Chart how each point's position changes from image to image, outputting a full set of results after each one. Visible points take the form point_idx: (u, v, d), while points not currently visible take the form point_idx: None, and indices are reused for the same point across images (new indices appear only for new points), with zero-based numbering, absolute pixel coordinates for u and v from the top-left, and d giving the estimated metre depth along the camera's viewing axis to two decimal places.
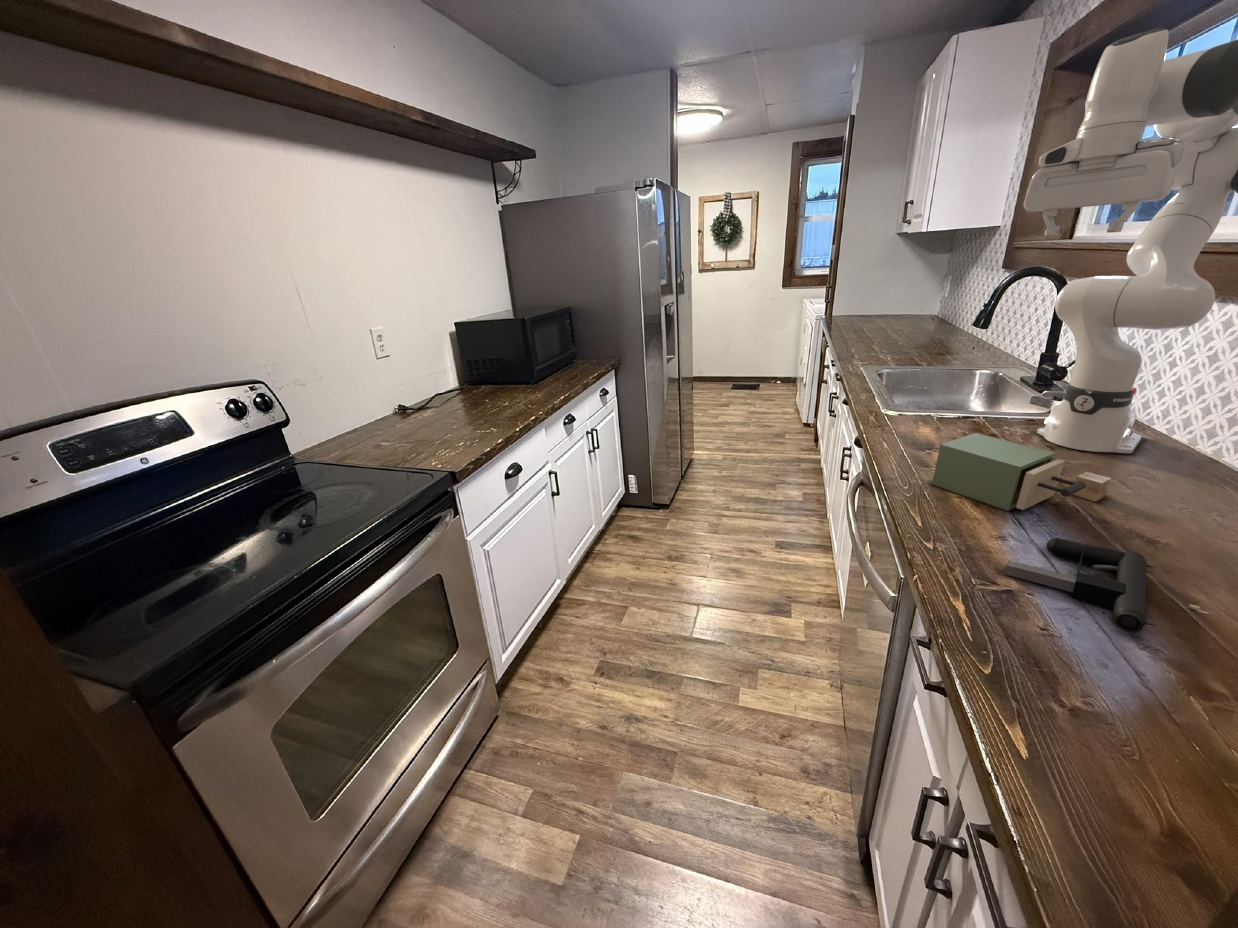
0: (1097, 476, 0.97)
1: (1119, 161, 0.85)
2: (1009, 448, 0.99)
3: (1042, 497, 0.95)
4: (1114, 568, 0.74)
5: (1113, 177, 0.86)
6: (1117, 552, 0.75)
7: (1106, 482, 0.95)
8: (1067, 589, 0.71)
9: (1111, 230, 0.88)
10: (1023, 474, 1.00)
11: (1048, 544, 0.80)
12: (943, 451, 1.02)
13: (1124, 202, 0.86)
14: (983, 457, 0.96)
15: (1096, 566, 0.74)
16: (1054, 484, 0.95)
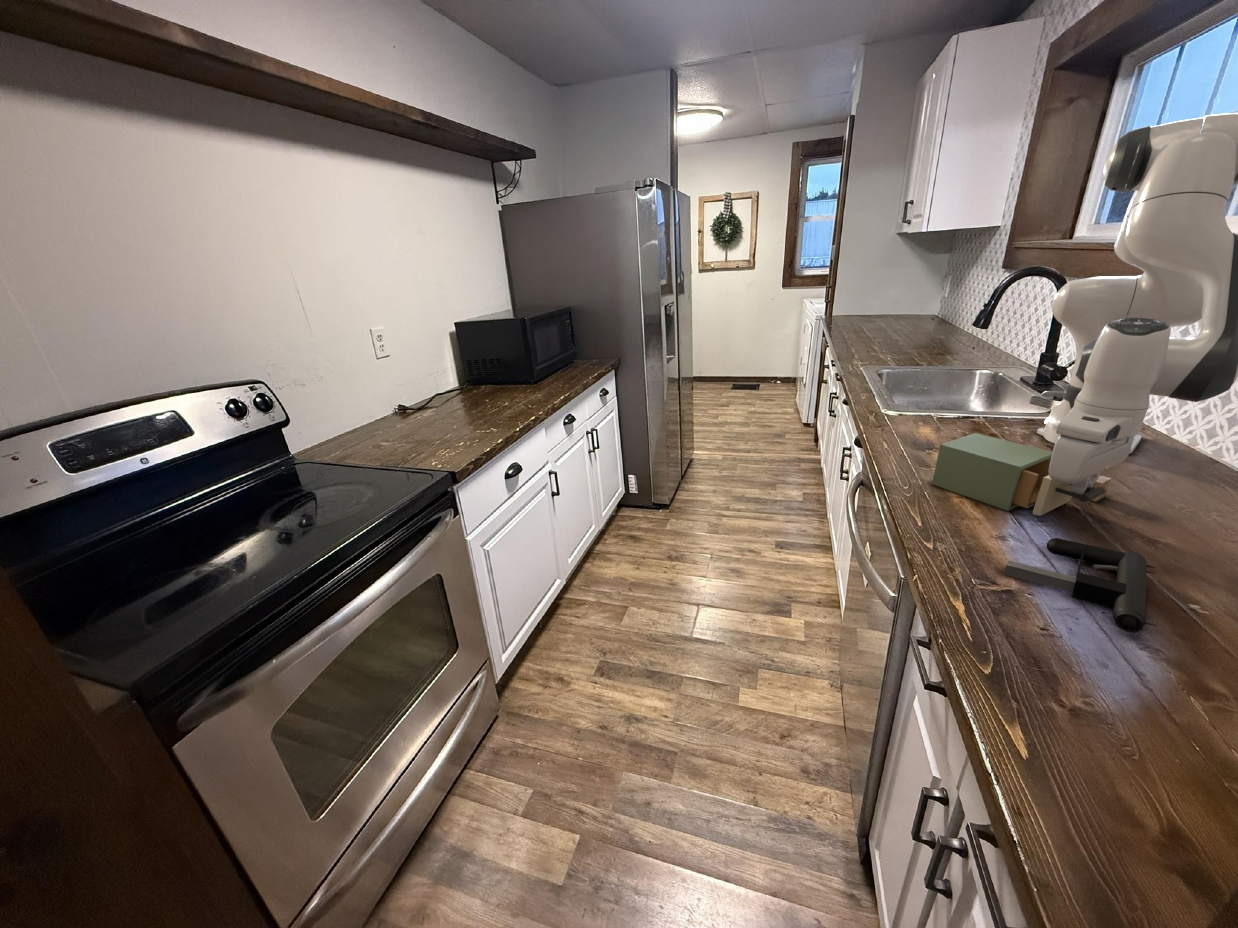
0: None
1: None
2: (1009, 448, 0.99)
3: (1060, 502, 0.93)
4: (1114, 568, 0.74)
5: (1114, 446, 0.85)
6: (1117, 552, 0.75)
7: (1106, 482, 0.95)
8: (1067, 589, 0.71)
9: None
10: (1039, 479, 0.97)
11: (1048, 544, 0.80)
12: (943, 451, 1.02)
13: None
14: (983, 457, 0.96)
15: (1096, 566, 0.74)
16: None
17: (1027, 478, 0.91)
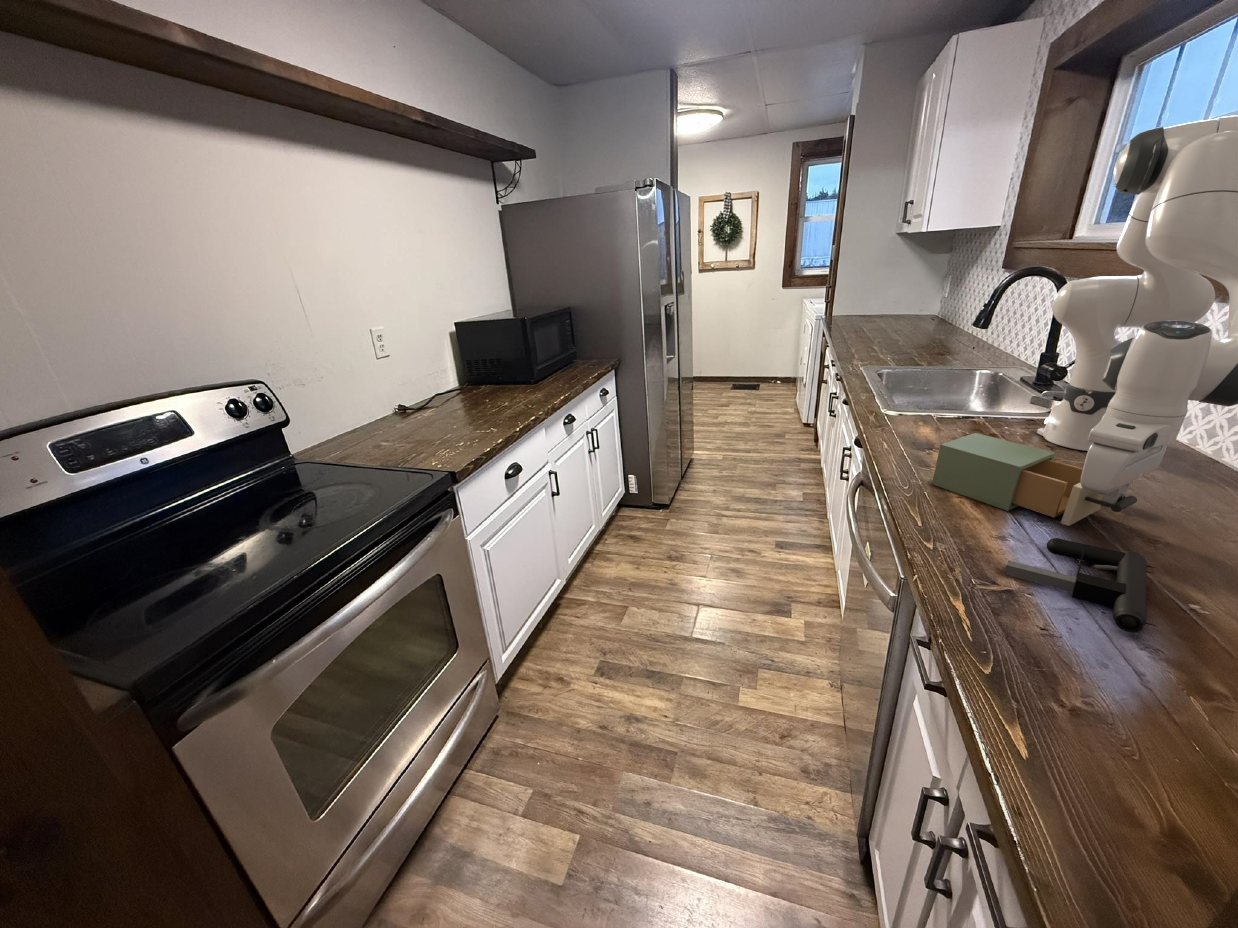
0: None
1: None
2: (1009, 448, 0.99)
3: (1088, 511, 0.89)
4: (1114, 568, 0.74)
5: (1148, 454, 0.82)
6: (1117, 552, 0.75)
7: None
8: (1067, 589, 0.71)
9: None
10: (1065, 486, 0.94)
11: (1048, 544, 0.80)
12: (943, 451, 1.02)
13: None
14: (983, 457, 0.96)
15: (1096, 566, 0.74)
16: (1100, 498, 0.90)
17: (1055, 486, 0.88)
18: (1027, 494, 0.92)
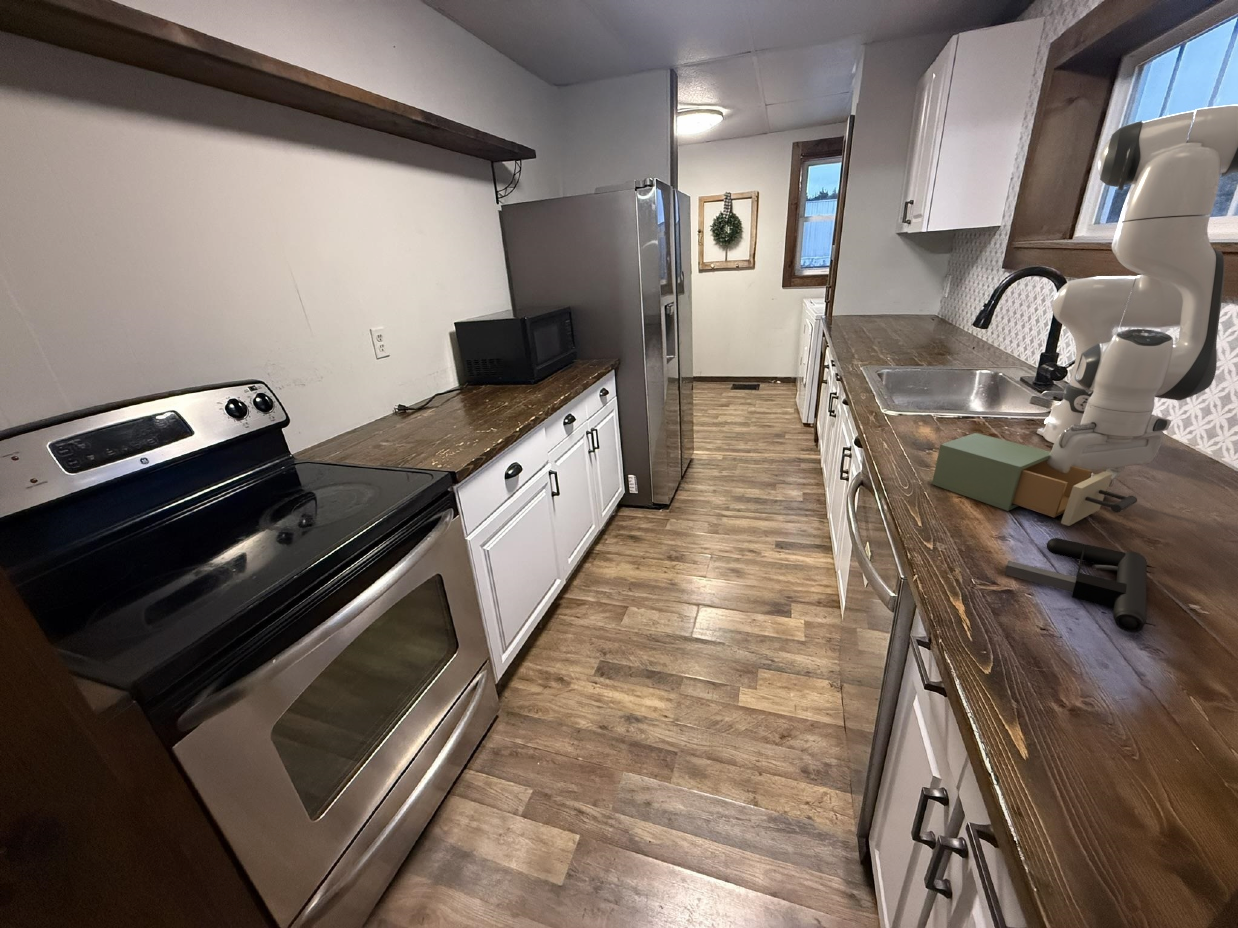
0: None
1: None
2: (1009, 448, 0.99)
3: (1088, 511, 0.89)
4: (1114, 568, 0.74)
5: None
6: (1117, 552, 0.75)
7: None
8: (1067, 589, 0.71)
9: None
10: (1065, 486, 0.94)
11: (1048, 544, 0.80)
12: (943, 451, 1.02)
13: None
14: (983, 457, 0.96)
15: (1096, 566, 0.74)
16: (1100, 498, 0.90)
17: (1055, 486, 0.88)
18: (1027, 494, 0.92)
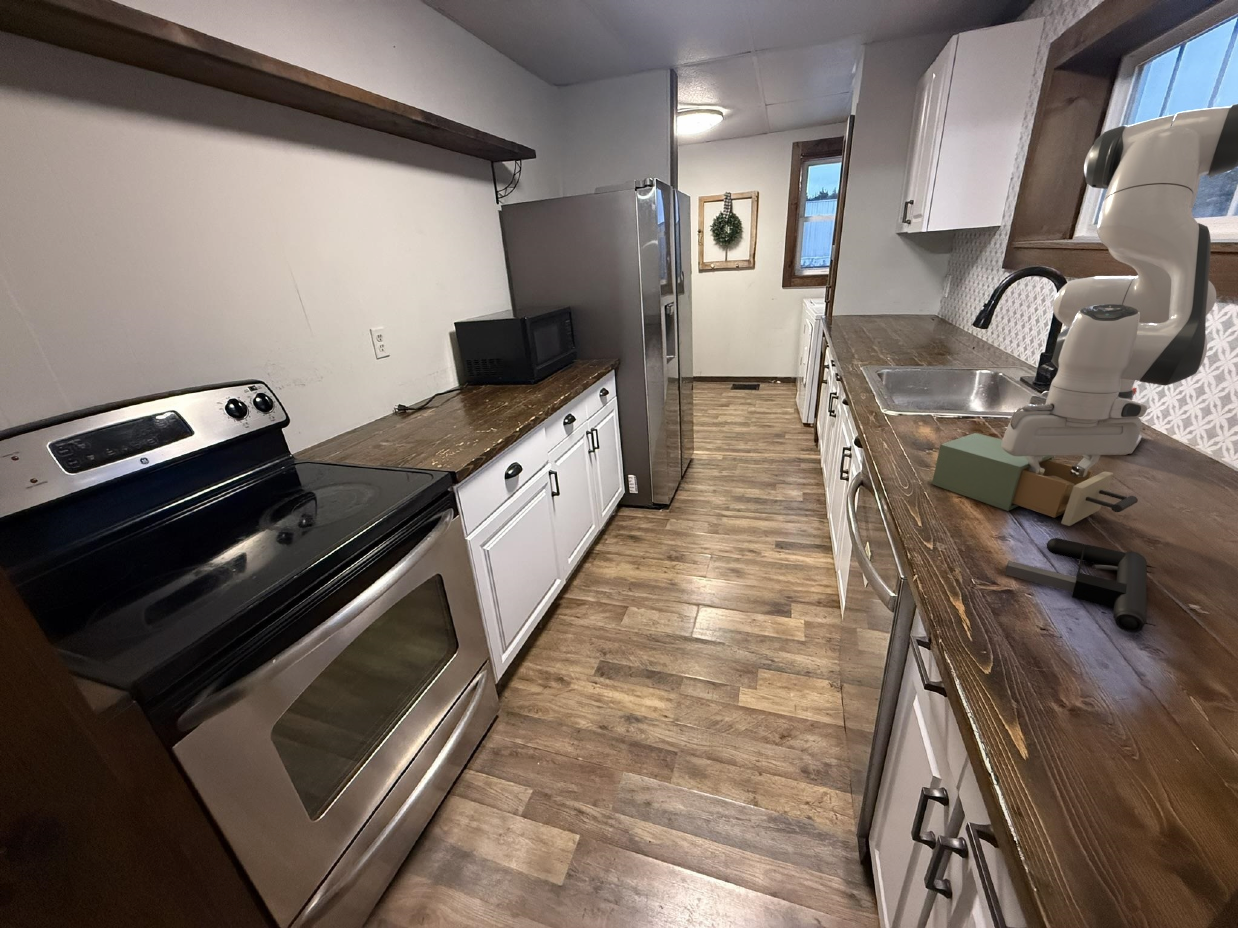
0: None
1: None
2: None
3: (1089, 512, 0.89)
4: (1114, 568, 0.74)
5: None
6: (1117, 552, 0.75)
7: None
8: (1067, 589, 0.71)
9: None
10: None
11: (1048, 544, 0.80)
12: (943, 451, 1.02)
13: None
14: (983, 457, 0.96)
15: (1096, 566, 0.74)
16: (1101, 498, 0.90)
17: (1056, 486, 0.87)
18: (1027, 494, 0.92)
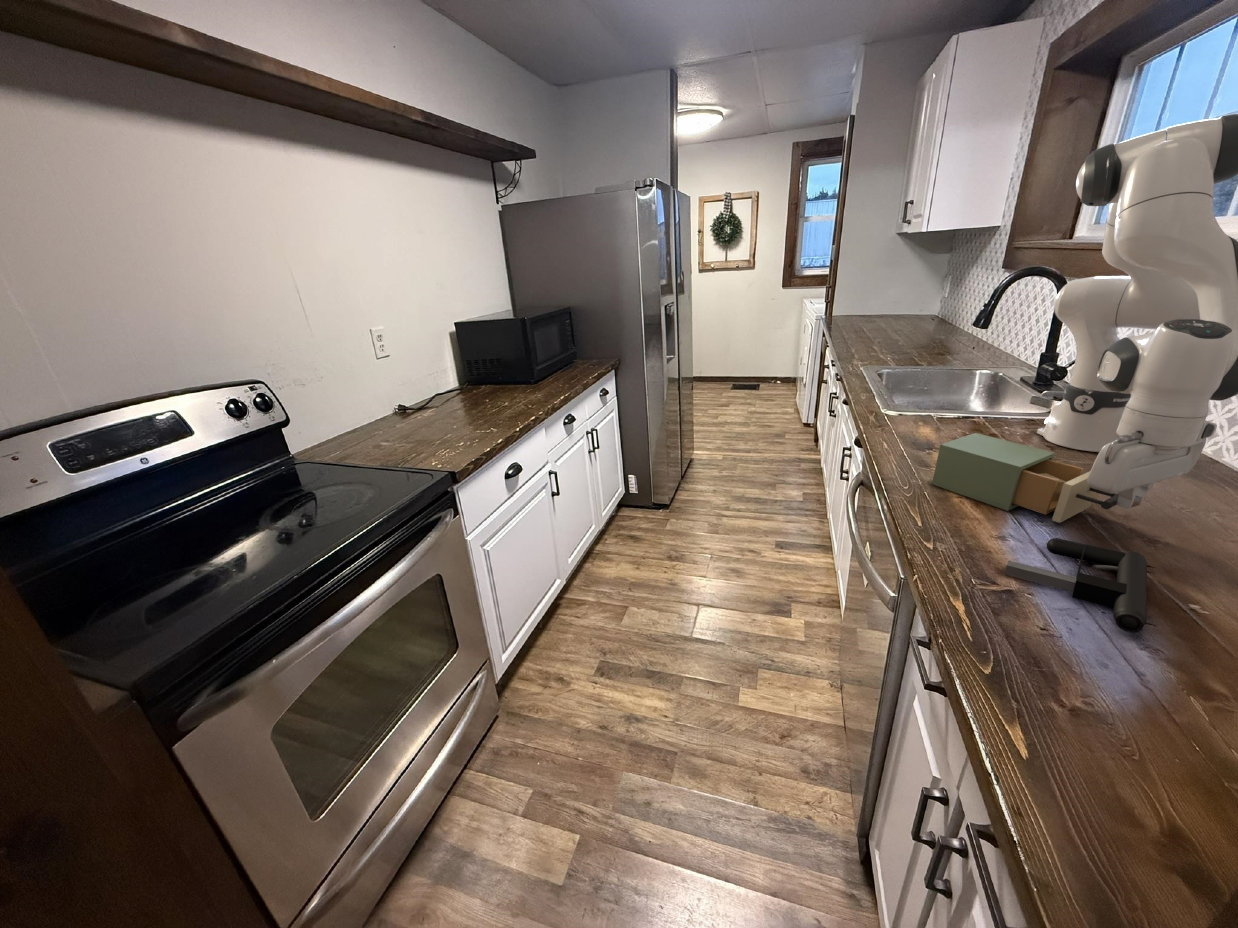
0: None
1: None
2: (1009, 448, 0.99)
3: (1079, 509, 0.90)
4: (1114, 568, 0.74)
5: None
6: (1117, 552, 0.75)
7: None
8: (1067, 589, 0.71)
9: None
10: None
11: (1048, 544, 0.80)
12: (943, 451, 1.02)
13: None
14: (983, 457, 0.96)
15: (1096, 566, 0.74)
16: (1091, 495, 0.91)
17: (1046, 484, 0.89)
18: (1019, 491, 0.93)
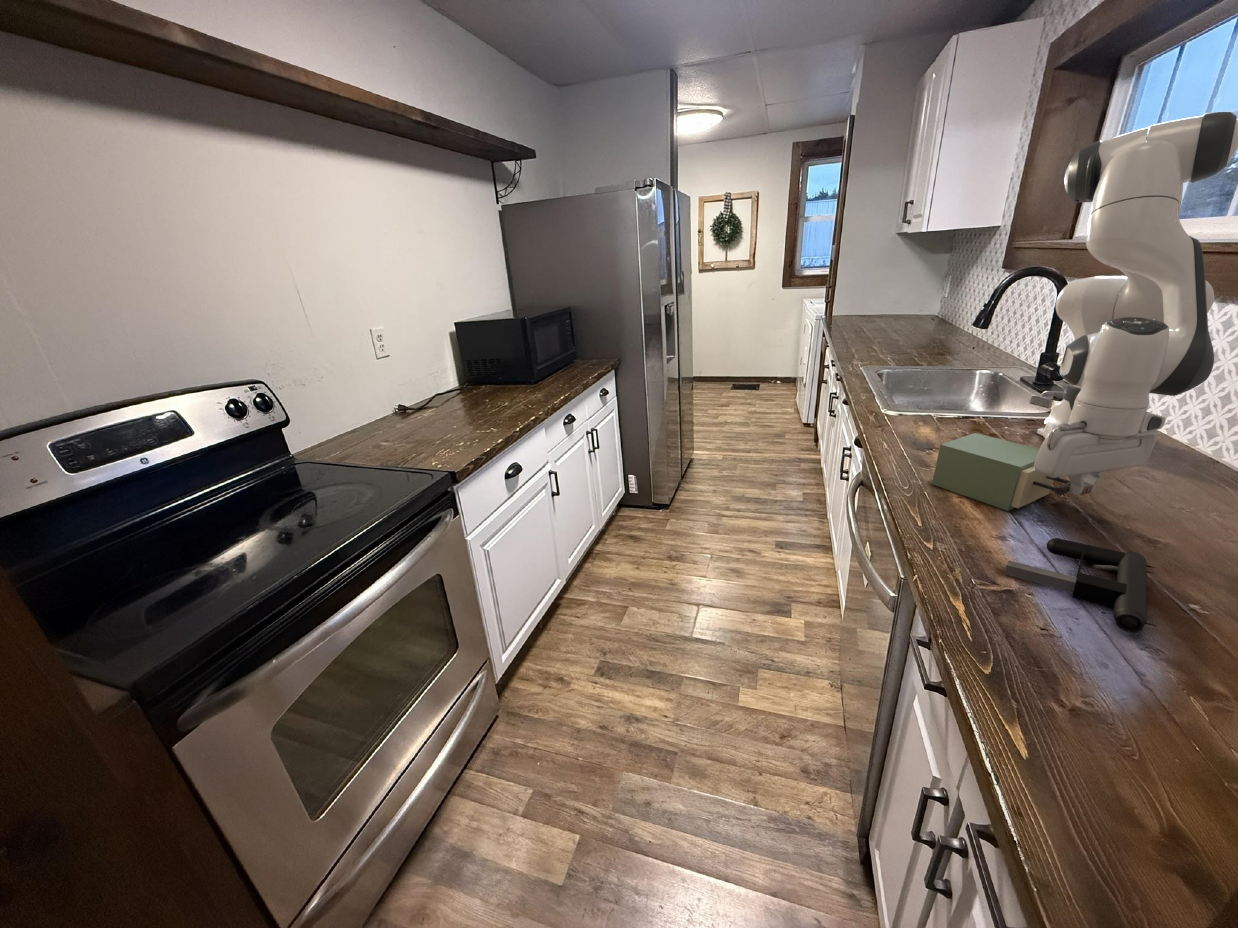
0: None
1: None
2: (1009, 448, 0.99)
3: (1038, 495, 0.95)
4: (1114, 568, 0.74)
5: None
6: (1117, 552, 0.75)
7: None
8: (1067, 589, 0.71)
9: None
10: None
11: (1048, 544, 0.80)
12: (943, 451, 1.02)
13: None
14: (983, 457, 0.96)
15: (1096, 566, 0.74)
16: (1049, 483, 0.96)
17: None
18: None
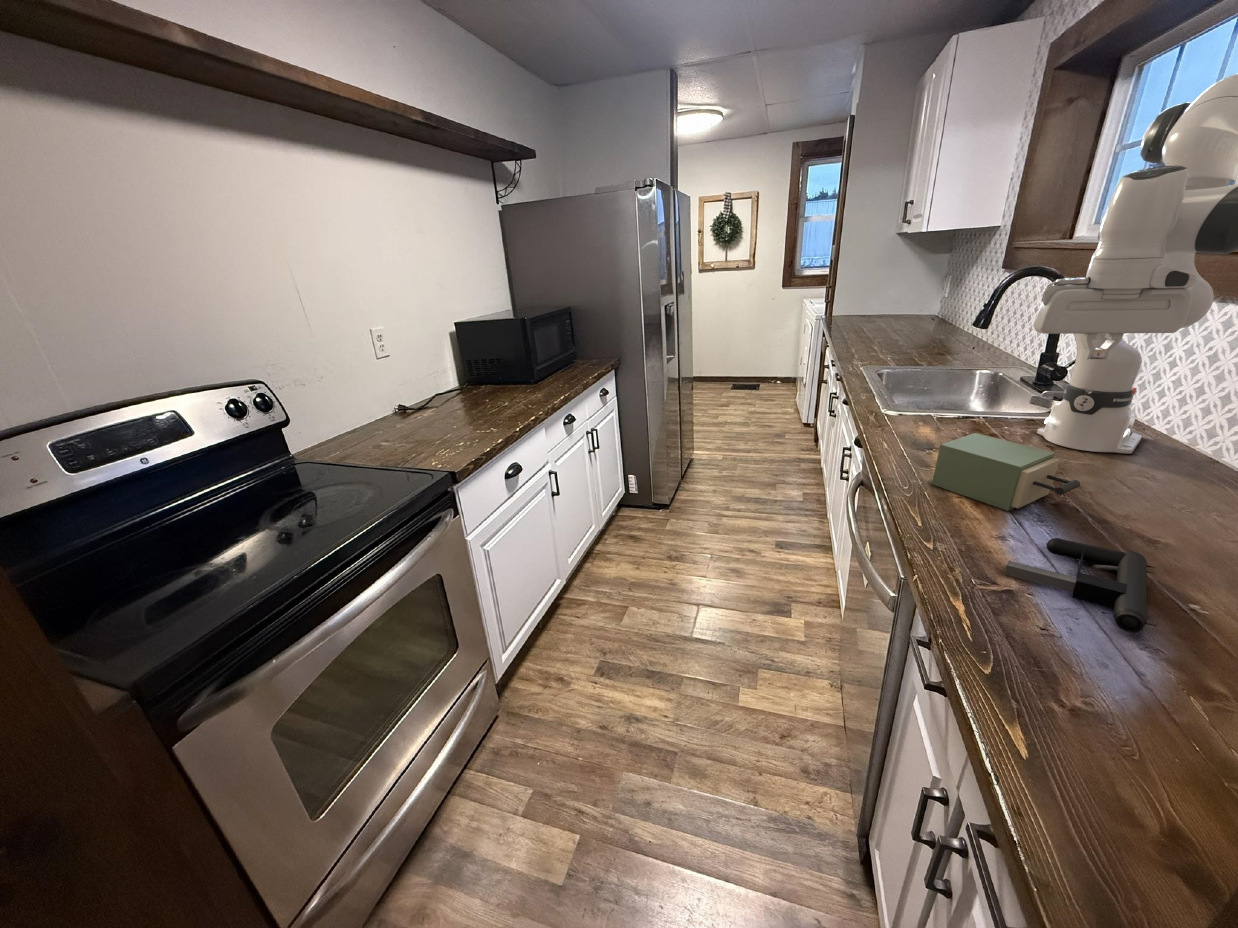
0: None
1: None
2: (1009, 448, 0.99)
3: (1038, 495, 0.95)
4: (1114, 568, 0.74)
5: None
6: (1117, 552, 0.75)
7: None
8: (1067, 589, 0.71)
9: None
10: None
11: (1048, 544, 0.80)
12: (943, 451, 1.02)
13: None
14: (983, 457, 0.96)
15: (1096, 566, 0.74)
16: (1049, 483, 0.96)
17: None
18: None
